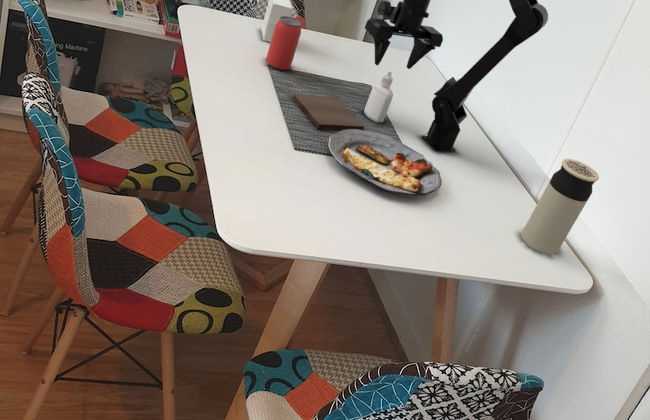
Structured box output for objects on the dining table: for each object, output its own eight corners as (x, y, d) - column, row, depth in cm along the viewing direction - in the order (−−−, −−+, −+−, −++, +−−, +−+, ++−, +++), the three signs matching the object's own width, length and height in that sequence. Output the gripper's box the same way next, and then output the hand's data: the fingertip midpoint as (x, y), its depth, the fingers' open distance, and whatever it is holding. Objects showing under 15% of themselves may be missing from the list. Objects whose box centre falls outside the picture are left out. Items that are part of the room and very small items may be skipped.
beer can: (261, 58, 188) (273, 13, 182) (284, 60, 191) (297, 17, 185) (270, 69, 183) (283, 24, 177) (294, 72, 186) (307, 27, 180)
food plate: (453, 180, 162) (459, 167, 160) (412, 216, 143) (418, 201, 141) (357, 129, 169) (362, 115, 168) (306, 156, 151) (311, 141, 149)
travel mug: (541, 258, 145) (585, 182, 136) (513, 234, 150) (553, 159, 141) (564, 252, 150) (608, 178, 141) (536, 229, 155) (576, 156, 146)
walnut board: (362, 131, 169) (364, 126, 169) (318, 128, 163) (319, 124, 162) (335, 101, 179) (337, 97, 178) (292, 98, 173) (294, 93, 172)
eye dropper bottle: (366, 120, 175) (384, 75, 169) (362, 110, 180) (379, 65, 173) (383, 124, 176) (401, 79, 170) (379, 114, 181) (396, 69, 175)
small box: (282, 45, 200) (293, 8, 195) (262, 40, 199) (272, 3, 193) (280, 34, 207) (290, -2, 201) (260, 29, 205) (270, -7, 200)
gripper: (429, -5, 176) (407, 55, 184) (364, -17, 166) (343, 47, 174) (455, 14, 168) (430, 75, 176) (388, 2, 159) (365, 68, 167)
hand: (392, 66), depth 174 cm, fingers open, 9 cm apart
